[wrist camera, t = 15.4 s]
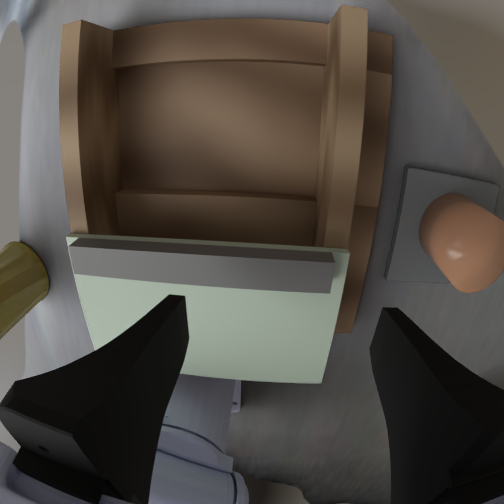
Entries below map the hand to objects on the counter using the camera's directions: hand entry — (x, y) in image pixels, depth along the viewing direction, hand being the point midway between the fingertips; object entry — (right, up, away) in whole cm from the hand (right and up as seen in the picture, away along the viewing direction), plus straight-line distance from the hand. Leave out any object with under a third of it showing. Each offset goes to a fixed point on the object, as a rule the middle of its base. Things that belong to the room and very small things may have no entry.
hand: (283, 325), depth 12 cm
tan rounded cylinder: (+12, +4, +8) cm, 15 cm away
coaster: (+12, +4, +9) cm, 16 cm away
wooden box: (-3, +7, +8) cm, 12 cm away
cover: (-4, -1, +6) cm, 7 cm away
